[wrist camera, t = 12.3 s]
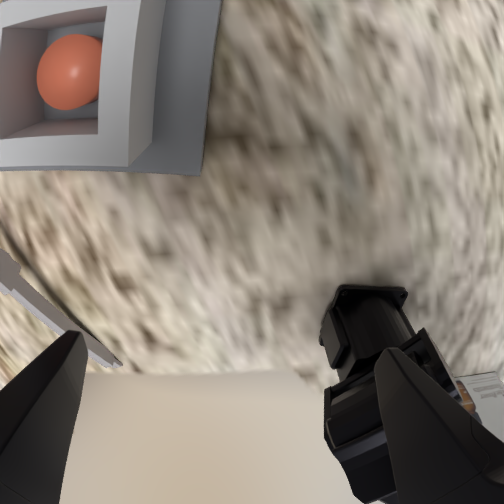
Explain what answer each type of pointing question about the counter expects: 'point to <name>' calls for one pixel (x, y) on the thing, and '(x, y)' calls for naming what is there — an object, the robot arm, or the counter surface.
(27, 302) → the caliper
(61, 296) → the counter surface
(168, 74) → the grey square holder
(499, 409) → the skincare box
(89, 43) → the button
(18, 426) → the robot arm
